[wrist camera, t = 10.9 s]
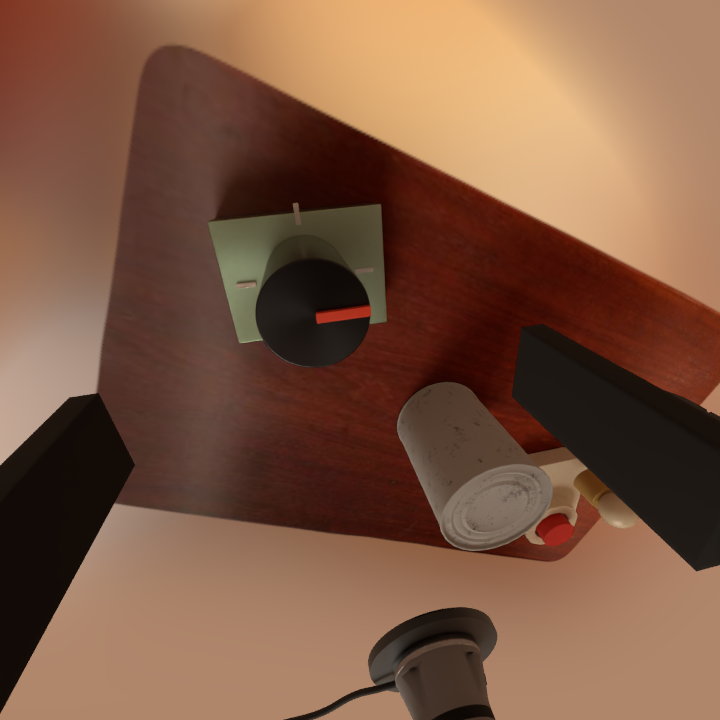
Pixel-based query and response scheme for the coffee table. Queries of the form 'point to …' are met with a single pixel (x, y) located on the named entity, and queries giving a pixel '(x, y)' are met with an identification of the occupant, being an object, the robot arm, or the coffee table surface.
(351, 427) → the coffee table surface
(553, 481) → the beige button base
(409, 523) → the coffee table surface
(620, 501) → the led lamp
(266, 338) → the dimmer knob
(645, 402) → the robot arm
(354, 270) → the panel
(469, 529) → the unlabeled tin can
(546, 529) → the lamp button
